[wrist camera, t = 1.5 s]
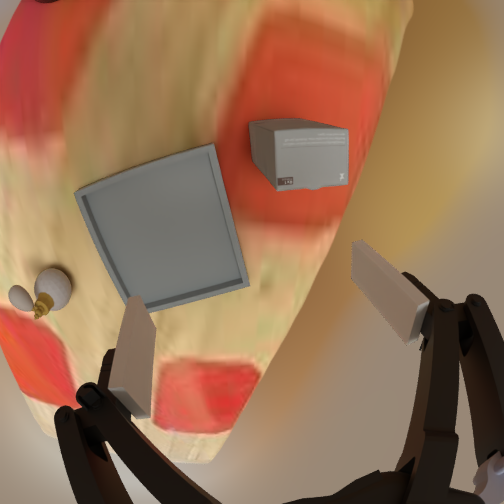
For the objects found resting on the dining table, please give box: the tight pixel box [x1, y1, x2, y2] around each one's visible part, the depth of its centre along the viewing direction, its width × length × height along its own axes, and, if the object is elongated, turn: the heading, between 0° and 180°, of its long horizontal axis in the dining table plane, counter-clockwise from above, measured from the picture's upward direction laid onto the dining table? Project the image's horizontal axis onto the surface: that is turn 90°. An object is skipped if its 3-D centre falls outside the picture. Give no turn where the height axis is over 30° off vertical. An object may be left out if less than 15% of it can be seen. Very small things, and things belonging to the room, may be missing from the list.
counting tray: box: [74, 143, 250, 313], centre depth 42 cm, size 24×22×2 cm
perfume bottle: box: [8, 268, 72, 320], centre depth 36 cm, size 8×10×12 cm
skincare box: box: [249, 118, 349, 191], centre depth 33 cm, size 8×7×16 cm
